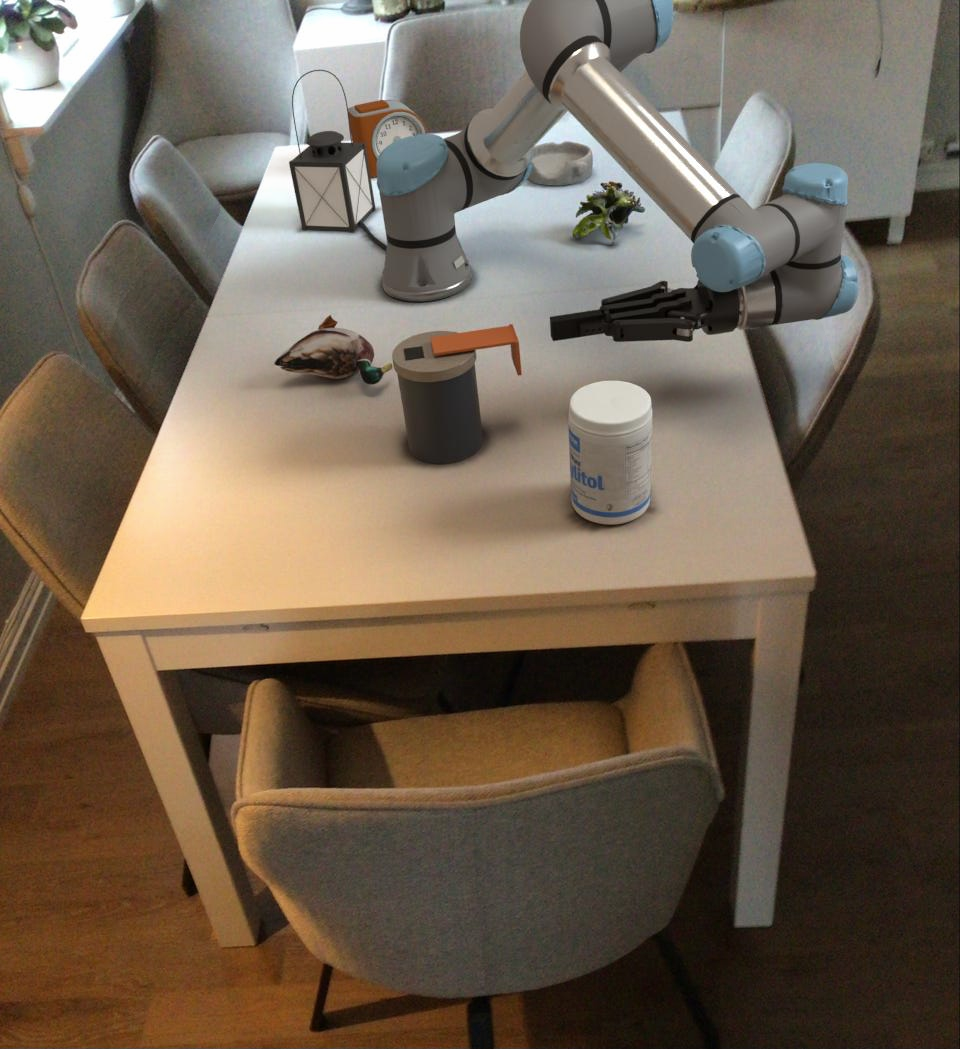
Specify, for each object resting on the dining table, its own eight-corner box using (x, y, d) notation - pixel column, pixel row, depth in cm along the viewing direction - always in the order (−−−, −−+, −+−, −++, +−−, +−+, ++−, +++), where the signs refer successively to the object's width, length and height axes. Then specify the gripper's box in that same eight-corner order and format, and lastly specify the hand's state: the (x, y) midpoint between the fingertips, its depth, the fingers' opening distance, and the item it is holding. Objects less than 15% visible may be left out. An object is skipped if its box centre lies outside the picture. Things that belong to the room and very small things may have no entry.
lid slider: (515, 356, 141) (512, 323, 138) (521, 375, 137) (519, 341, 135) (434, 368, 141) (430, 336, 138) (438, 387, 137) (434, 354, 134)
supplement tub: (556, 510, 131) (549, 407, 122) (601, 472, 136) (598, 370, 127) (622, 538, 125) (620, 432, 117) (667, 497, 131) (668, 393, 122)
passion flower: (612, 256, 199) (648, 197, 195) (621, 270, 189) (659, 208, 185) (560, 226, 196) (595, 165, 192) (566, 239, 187) (603, 175, 182)
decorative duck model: (397, 351, 153) (297, 380, 148) (400, 395, 158) (304, 424, 153) (356, 304, 163) (262, 329, 158) (361, 346, 168) (269, 372, 163)
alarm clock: (365, 180, 227) (355, 114, 219) (354, 168, 234) (344, 104, 226) (431, 165, 231) (423, 100, 223) (419, 153, 237) (411, 90, 229)
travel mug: (479, 416, 149) (469, 324, 141) (490, 458, 141) (480, 363, 132) (403, 428, 149) (389, 336, 140) (410, 470, 140) (395, 376, 132)
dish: (595, 185, 213) (594, 160, 210) (525, 191, 214) (523, 166, 211) (590, 159, 224) (589, 135, 221) (524, 165, 225) (522, 141, 222)
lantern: (376, 209, 214) (353, 61, 197) (354, 232, 206) (328, 79, 189) (325, 208, 217) (298, 61, 200) (301, 230, 209) (271, 79, 192)
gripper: (748, 351, 135) (562, 379, 134) (715, 306, 145) (543, 332, 144) (751, 296, 131) (559, 325, 129) (718, 253, 141) (540, 280, 140)
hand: (551, 329), depth 137 cm, fingers closed
